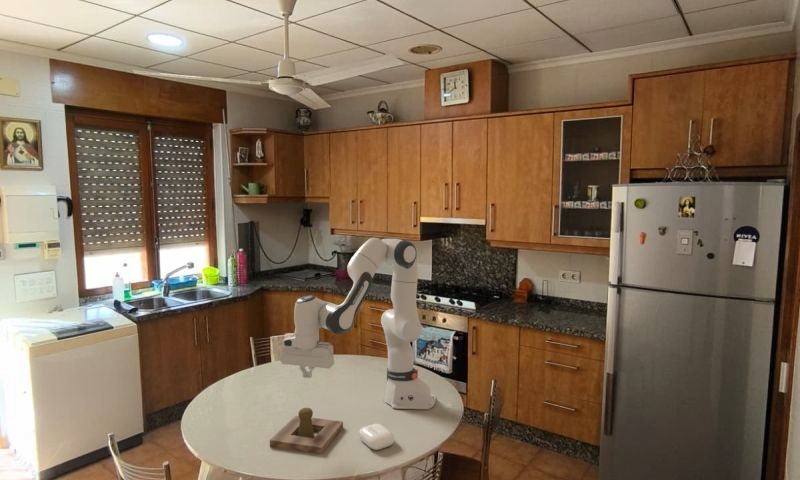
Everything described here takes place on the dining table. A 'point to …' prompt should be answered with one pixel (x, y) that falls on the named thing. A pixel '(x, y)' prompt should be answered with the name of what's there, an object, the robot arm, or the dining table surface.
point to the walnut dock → (305, 444)
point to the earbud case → (376, 436)
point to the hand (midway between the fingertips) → (307, 377)
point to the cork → (306, 423)
